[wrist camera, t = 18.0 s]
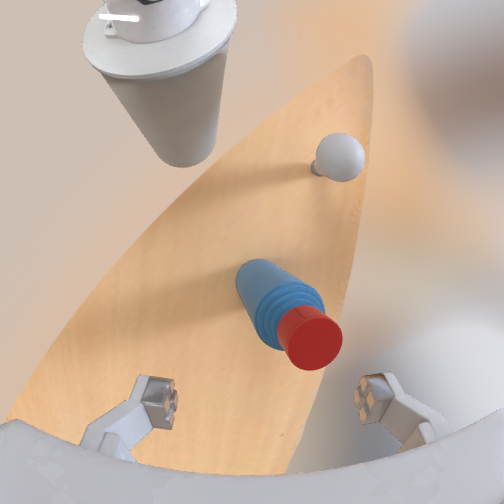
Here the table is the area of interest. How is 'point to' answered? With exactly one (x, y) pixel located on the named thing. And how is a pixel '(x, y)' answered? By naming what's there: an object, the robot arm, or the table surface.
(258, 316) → the bottle
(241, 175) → the table surface
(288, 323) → the cap
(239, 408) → the table surface
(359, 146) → the lightbulb
